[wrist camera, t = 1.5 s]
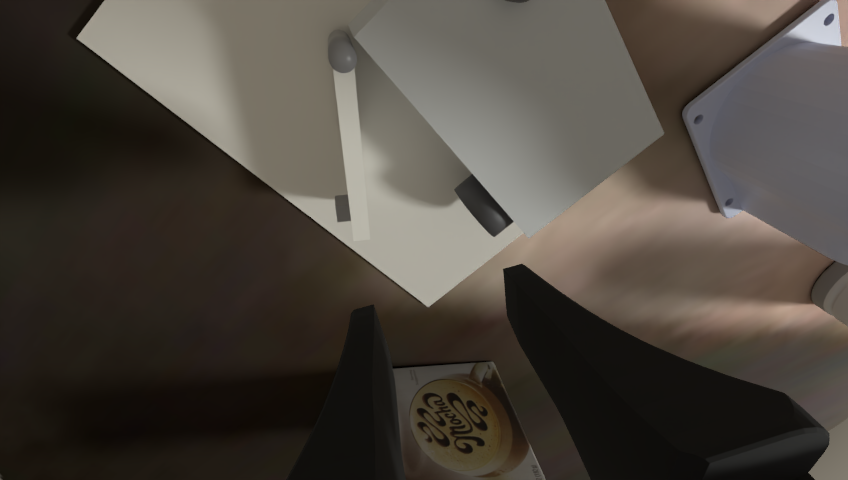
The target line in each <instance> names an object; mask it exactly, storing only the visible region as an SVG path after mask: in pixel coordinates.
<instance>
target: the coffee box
mask: <svg viewBox="0 0 848 480" xmlns="http://www.w3.org/2000/svg"><path fill="white" fill-rule="evenodd" d="M393 372H394V378H395V386H396V396H397V407H398V418H399V429H400V440H401V451H402V459H403V466H404V472H405V477H406V480H545V477H544V475H543V473H542V471H541V468H540V466H539V464H538V462H537V459H536V457H535V455H534V453H533V451H532V448H531V446H530V444H529V442H528V440H527V437H526V435H525V433H524V431H523V428H522V426H521V423H520V421H519V419H518V417H517V414H516V412H515V410H514V408H513V405H512V403H511V401H510V399H509V397H508V394H507V392H506V390H505V387H504V385H503V383H502V381H501V379H500V376H499V374H498V371H497V369H496V366H495V364H494V363H493V362H479V363H465V364H451V365H436V366H423V367H409V368H396V369H393Z"/></svg>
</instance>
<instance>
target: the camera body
mask: <svg viewBox="0 0 848 480" xmlns="http://www.w3.org/2000/svg"><path fill="white" fill-rule="evenodd" d="M348 26H349V28H350V30H351V32H352V34H353V36H354V38H355V39H356V40H357V41H358V42H359V44H360V45H361V46H362V47H363V48H364V49H365V51H366V52H367V53H368V54H369V55H370V56H371V57H372V59H373V60H374V61H375V62H376V63H377V64H378V66H379V67H380V68H381V69H382V70H383V71H384V72H385V74H386V75H387V76H388V77H389V78H390V79H391V81H392V82H393V83H394V84H395V85H396V86H397V87H398V89H399V90H400V91H401V92H402V93H403V94H404V95H405V97H406V98H407V99H408V100H409V101H410V102H411V104H412V105H413V106H414V107H415V108H416V109H417V110H418V112H419V113H420V114H421V115H422V116H423V117H424V119H425V120H426V121H427V122H428V123H429V124H430V125H431V127H432V128H433V129H434V130H435V131H436V132H437V134H438V135H439V136H440V137H441V138H442V139H443V140H444V142H445V143H446V144H447V145H448V146H449V147H450V149H451V150H452V151H453V152H454V153H455V154H456V155H457V157H458V158H459V159H460V160H461V161H462V162H463V163H464V165H465V166H466V167H467V168H468V169H469V170H470V172H471V173H472V174H471V175H470V176H469V177H468V178H467V179H465V180H464V181H463V182H462V183H461V184H460V185H458V186H457V187H456V188H455V189H454V190H455V192H456V194H457V195H458V197H459V198H460V200H461V201H462V202H463V204H464V205H465V206H466V208H467V209H468V210H469V211H470V213H471V214H472V215H473V216H474V218H475V219H476V220H477V221H478V222H479V223H480V224H481V226H482V227H483V228H484V229H485V230H486V231H487V232H488V233H489V234H490V235H491V236H493V237H495V236H497V235H498V234H499V233H500V232H502V231H503V230H504V229H505V228H507V227H508V226H509V225H511V224H512V223H513V222H515V223H516V225H517V226H518V227H519V228H520V229H521V230H522V231H523V233H524V234H525V235H526V236H527V237H528V238H530V237H532V236H533V235H534V234H535V233H537V232H538V231H539V230H541V229H542V228H543V227H544V226H546V225H547V224H548V223H550V222H551V221H552V220H554V219H555V218H556V217H557V216H559V215H560V214H561V213H563V212H564V211H565V210H566V209H568V208H569V207H570V206H572V205H573V204H574V203H576V202H577V201H578V200H579V199H581V198H582V197H583V196H585V195H586V194H587V193H588V192H590V191H591V190H592V189H594V188H595V187H596V186H598V185H599V184H600V183H601V182H603V181H604V180H605V179H607V178H608V177H609V176H611V175H612V174H613V173H614V172H616V171H617V170H618V169H620V168H621V167H622V166H623V165H625V164H626V163H627V162H629V161H630V160H631V159H633V158H634V157H635V156H636V155H638V154H639V153H640V152H642V151H643V150H644V149H645V148H647V147H648V146H649V145H651V144H652V143H653V142H655V141H656V140H657V139H658V138H660V137H661V136H662V135H664V131H663V129H662V127H661V125H660V122H659V120H658V118H657V116H656V113H655V111H654V109H653V107H652V104H651V102H650V100H649V98H648V95H647V93H646V91H645V89H644V86H643V84H642V82H641V80H640V77H639V75H638V73H637V71H636V68H635V66H634V64H633V62H632V59H631V57H630V55H629V53H628V50H627V48H626V46H625V44H624V42H623V39H622V37H621V35H620V33H619V30H618V28H617V26H616V24H615V21H614V19H613V17H612V15H611V12H610V10H609V8H608V6H607V3H606V1H605V0H371V1H370V2H369V3H368V4H367V5H366V6H365V7H364V9H363V10H362V11H361V12H360V13H359V14H358V15H357V16H356V17H355V18H354V19H353V20H352V21H351V22H350V23H349V24H348Z"/></svg>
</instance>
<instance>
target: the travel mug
mask: <svg viewBox="0 0 848 480" xmlns="http://www.w3.org/2000/svg"><path fill="white" fill-rule="evenodd" d="M811 298H812V301H813V303H814V304H815V305H817V306H818V307H820V308H821V309H823V310H824V311H826V312H827V313H829V314H830V315H833V316H834V317H835V318H836V319H837V320H839V321H840V322H842V323H843V324H845V325H846V326H848V265H845V264H842V263H839V262H837V261H836V262H834V263H833V264H832V265H831V266H830V267H828V268H827V269H826V270H825V271H824V272H823V273H822V274H821V276H820V277H819V278H818V280H817V281H816V283H815V285H814V287H813V289H812V294H811Z"/></svg>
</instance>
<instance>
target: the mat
mask: <svg viewBox="0 0 848 480" xmlns="http://www.w3.org/2000/svg"><path fill="white" fill-rule="evenodd" d="M370 1H371V0H105V1H104V2H103V3H102V5H101V6H100V7H99V9H98V10H97V11H96V13H95V14H94V15H93V17H92V18H91V19H90V21H89V22H88V23H87V25H86V26H85V27H84V29H83V30H82V31H81V33H80V34H79V35H78V37H77V39H78V40H79V41H81V42H82V43H83V44H84V45H86V46H87V47H88V48H90V49H91V50H92V51H94V52H95V53H96V54H98V55H99V56H100V57H102V58H103V59H104V60H105V61H107V62H108V63H109V64H111V65H112V66H113V67H115V68H116V69H117V70H119V71H120V72H121V73H122V74H124V75H125V76H126V77H128V78H129V79H130V80H132V81H133V82H134V83H136V84H137V85H138V86H139V87H141V88H142V89H143V90H145V91H146V92H147V93H149V94H150V95H151V96H153V97H154V98H155V99H156V100H158V101H159V102H160V103H162V104H163V105H164V106H166V107H167V108H168V109H170V110H171V111H172V112H173V113H175V114H176V115H177V116H179V117H180V118H181V119H183V120H184V121H185V122H187V123H188V124H189V125H190V126H192V127H193V128H194V129H196V130H197V131H198V132H200V133H201V134H202V135H204V136H205V137H206V138H207V139H209V140H210V141H211V142H213V143H214V144H215V145H217V146H218V147H219V148H221V149H222V150H223V151H224V152H226V153H227V154H228V155H230V156H231V157H232V158H234V159H235V160H236V161H238V162H239V163H240V164H241V165H243V166H244V167H245V168H247V169H248V170H249V171H251V172H252V173H253V174H255V175H256V176H257V177H258V178H260V179H261V180H262V181H264V182H265V183H266V184H268V185H269V186H270V187H272V188H273V189H274V190H275V191H277V192H278V193H279V194H281V195H282V196H283V197H285V198H286V199H287V200H289V201H290V202H291V203H292V204H294V205H295V206H296V207H298V208H299V209H300V210H302V211H303V212H304V213H306V214H307V215H308V216H309V217H311V218H312V219H313V220H315V221H316V222H317V223H319V224H320V225H321V226H323V227H324V228H325V229H327V230H328V231H329V232H330V233H332V234H333V235H334V236H336V237H337V238H338V239H340V240H341V241H342V242H344V243H345V244H346V245H347V246H349V247H350V248H351V249H353V250H354V251H355V252H357V253H358V254H359V255H361V256H362V257H363V258H364V259H366V260H367V261H368V262H370V263H371V264H372V265H374V266H375V267H376V268H378V269H379V270H380V271H381V272H383V273H384V274H385V275H387V276H388V277H389V278H391V279H392V280H393V281H395V282H396V283H397V284H398V285H400V286H401V287H402V288H404V289H405V290H406V291H408V292H409V293H410V294H412V295H413V296H414V297H415V298H417V299H418V300H419V301H421V302H422V303H423V304H425V305H426V306H427V307H429V306H430V305H432V304H433V303H434V302H436V301H437V300H438V299H439V298H441V297H442V296H443V295H445V294H446V293H447V292H448V291H450V290H451V289H452V288H453V287H455V286H456V285H457V284H459V283H460V282H461V281H462V280H464V279H465V278H466V277H468V276H469V275H470V274H471V273H473V272H474V271H475V270H477V269H478V268H479V267H480V266H482V265H483V264H484V263H486V262H487V261H488V260H489V259H491V258H492V257H493V256H495V255H496V254H497V253H498V252H500V251H501V250H502V249H504V248H505V247H506V246H507V245H509V244H510V243H511V242H512V241H514V240H515V239H516V238H518V237H519V236H520V235H521V234H523V231H522V230H521V229H520V228H519V227H518V226H517V225H516V223H515V222H513V223H512V224H511V225H509V226H508V227H507V228H505V229H504V230H503V231H502V232H500V233H499V234H498V235H497V236H495V237H493V236H491V235H490V234H489V233H488V232H487V231H486V230H485V229H484V228H483V227H482V226H481V224H480V223H479V222H478V221H477V220H476V219H475V218H474V216H473V215H472V214H471V213H470V211H469V210H468V209H467V208H466V206H465V205H464V204H463V202H462V201H461V200H460V198H459V197H458V195H457V194H456V192H455V190H454V189H455V188H456V187H457V186H458V185H460V184H461V183H462V182H463V181H464V180H465V179H467V178H468V177H469V176H470V175H471V174H472V173H471V172H470V170H469V169H468V168H467V167H466V166H465V165H464V163H463V162H462V161H461V160H460V159H459V158H458V157H457V155H456V154H455V153H454V152H453V151H452V150H451V149H450V147H449V146H448V145H447V144H446V143H445V142H444V140H443V139H442V138H441V137H440V136H439V135H438V134H437V132H436V131H435V130H434V129H433V128H432V127H431V125H430V124H429V123H428V122H427V121H426V120H425V119H424V117H423V116H422V115H421V114H420V113H419V112H418V110H417V109H416V108H415V107H414V106H413V105H412V104H411V102H410V101H409V100H408V99H407V98H406V97H405V95H404V94H403V93H402V92H401V91H400V90H399V89H398V87H397V86H396V85H395V84H394V83H393V82H392V81H391V79H390V78H389V77H388V76H387V75H386V74H385V72H384V71H383V70H382V69H381V68H380V67H379V66H378V64H377V63H376V62H375V61H374V60H373V59H372V57H371V56H370V55H369V54H368V53H367V52H366V51H365V49H364V48H363V47H362V46H361V45H360V44H359V42H358V41H357V40H356V39H355V38H354V36H353V34H352V32H351V30H350V28H349V26H348V24H349V23H350V22H351V21H352V20H353V19H354V18H355V17H356V16H357V15H358V14H359V13H360V12H361V11H362V10H363V9H364V7H365V6H366V5H367V4H368V3H369V2H370ZM334 30H343V31H345V32H346V33H347V34H348V35H349V37H350V39H351V42H352V45H353V47H354V50H355V52H356V55H357V63H356V66H355V67H354V68H355V79H356V90H357V101H358V112H359V123H360V133H361V144H362V155H363V166H364V177H365V188H366V199H367V209H368V220H369V231H370V240H361V241H353V232H352V224H351V221H346V222H337V215H336V208H335V196H337V195H348V191H347V182H346V174H345V166H344V157H343V149H342V141H341V132H340V124H339V116H338V107H337V99H336V91H335V82H334V74H333V68H332V67H331V65H330V63H329V59H328V37H329V35H330V33H331V32H333V31H334Z"/></svg>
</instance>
